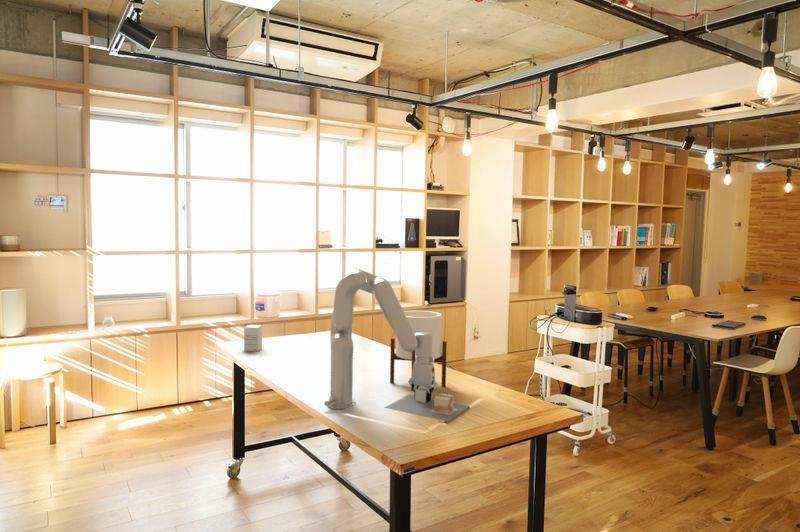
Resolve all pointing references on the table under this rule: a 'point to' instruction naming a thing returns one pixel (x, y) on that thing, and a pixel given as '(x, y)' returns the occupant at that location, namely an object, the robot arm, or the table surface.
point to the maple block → (443, 403)
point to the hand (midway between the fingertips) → (422, 399)
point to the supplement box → (252, 338)
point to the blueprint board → (426, 408)
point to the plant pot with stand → (422, 323)
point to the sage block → (420, 394)
